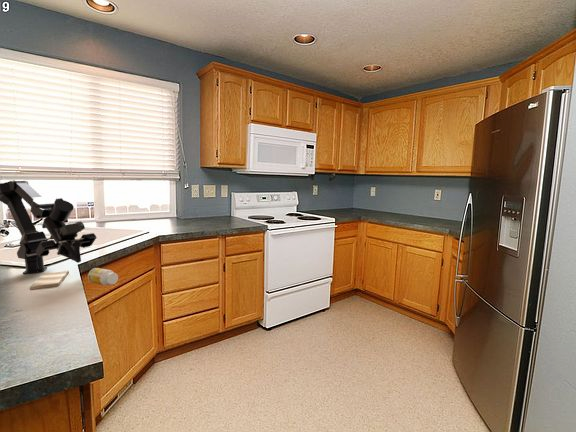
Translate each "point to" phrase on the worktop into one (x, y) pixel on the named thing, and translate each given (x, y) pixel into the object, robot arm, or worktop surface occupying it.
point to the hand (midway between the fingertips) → (79, 261)
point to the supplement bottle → (102, 276)
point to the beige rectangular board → (49, 279)
